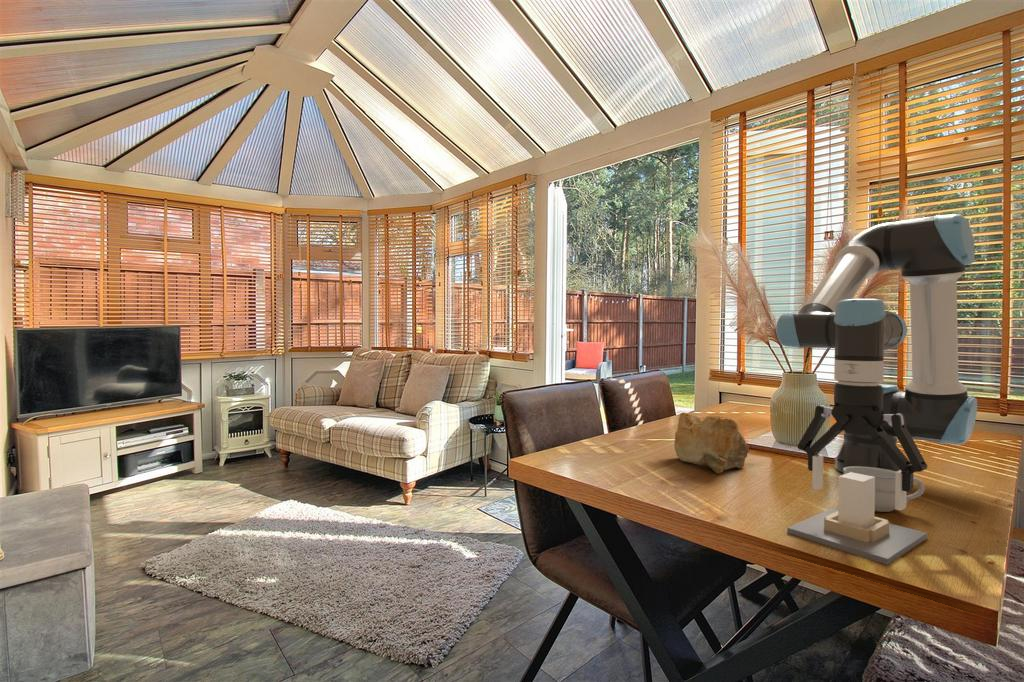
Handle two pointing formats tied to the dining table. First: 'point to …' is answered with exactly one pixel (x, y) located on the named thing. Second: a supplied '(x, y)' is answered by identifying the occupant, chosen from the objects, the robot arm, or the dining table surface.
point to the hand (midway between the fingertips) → (856, 498)
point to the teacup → (885, 486)
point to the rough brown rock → (710, 442)
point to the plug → (856, 500)
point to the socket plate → (859, 536)
